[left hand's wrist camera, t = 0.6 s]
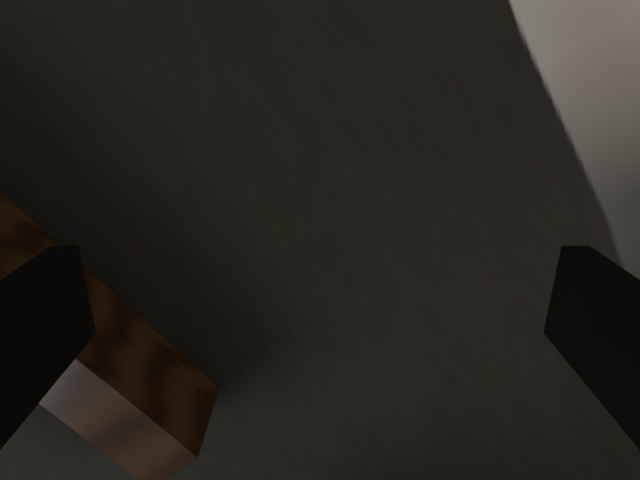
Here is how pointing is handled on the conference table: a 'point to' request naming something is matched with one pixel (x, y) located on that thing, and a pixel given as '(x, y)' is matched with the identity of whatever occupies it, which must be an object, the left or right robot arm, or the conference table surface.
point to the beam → (120, 374)
